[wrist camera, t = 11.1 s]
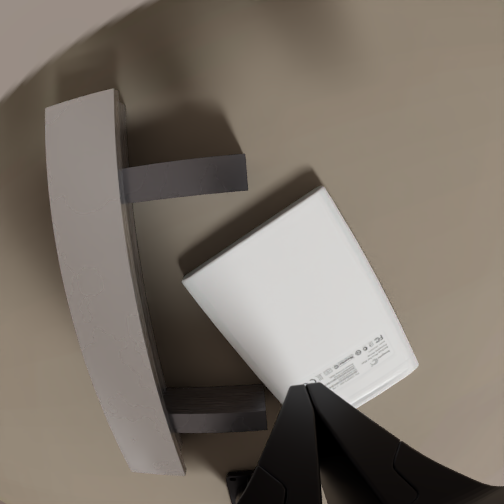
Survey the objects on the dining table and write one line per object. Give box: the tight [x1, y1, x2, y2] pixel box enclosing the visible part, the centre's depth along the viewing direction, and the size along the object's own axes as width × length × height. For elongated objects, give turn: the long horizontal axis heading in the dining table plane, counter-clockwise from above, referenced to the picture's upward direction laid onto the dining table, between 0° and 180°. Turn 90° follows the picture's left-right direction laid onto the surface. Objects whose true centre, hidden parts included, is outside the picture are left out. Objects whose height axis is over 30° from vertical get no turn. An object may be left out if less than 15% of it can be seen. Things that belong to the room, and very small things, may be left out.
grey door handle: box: [45, 88, 267, 476], centre depth 15 cm, size 21×9×3 cm, turn 4°
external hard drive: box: [182, 186, 419, 408], centre depth 17 cm, size 2×8×12 cm
